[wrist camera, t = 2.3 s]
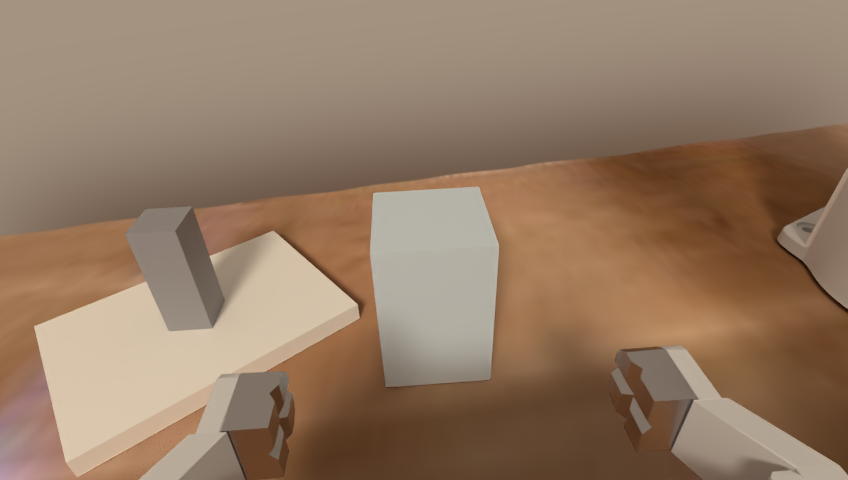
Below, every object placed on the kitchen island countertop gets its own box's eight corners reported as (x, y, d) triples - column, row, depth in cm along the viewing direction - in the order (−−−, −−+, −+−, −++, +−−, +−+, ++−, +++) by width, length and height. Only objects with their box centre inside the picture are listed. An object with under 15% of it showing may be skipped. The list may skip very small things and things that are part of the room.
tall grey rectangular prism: (474, 309, 31) (478, 186, 26) (490, 379, 26) (499, 245, 21) (386, 315, 31) (373, 192, 26) (385, 387, 26) (369, 253, 21)
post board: (276, 243, 39) (253, 148, 34) (359, 318, 31) (343, 208, 26) (43, 340, 30) (-30, 231, 26) (77, 477, 22) (-19, 356, 18)
